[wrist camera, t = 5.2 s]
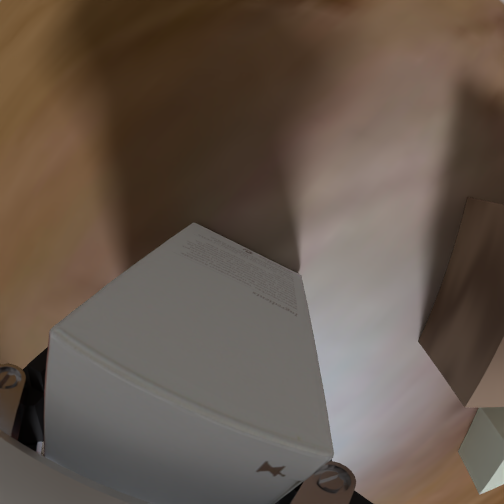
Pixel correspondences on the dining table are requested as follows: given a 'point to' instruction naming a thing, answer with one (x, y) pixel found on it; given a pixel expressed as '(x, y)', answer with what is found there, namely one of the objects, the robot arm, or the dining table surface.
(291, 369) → the small box
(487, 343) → the walnut block
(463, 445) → the sage block
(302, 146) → the dining table surface
